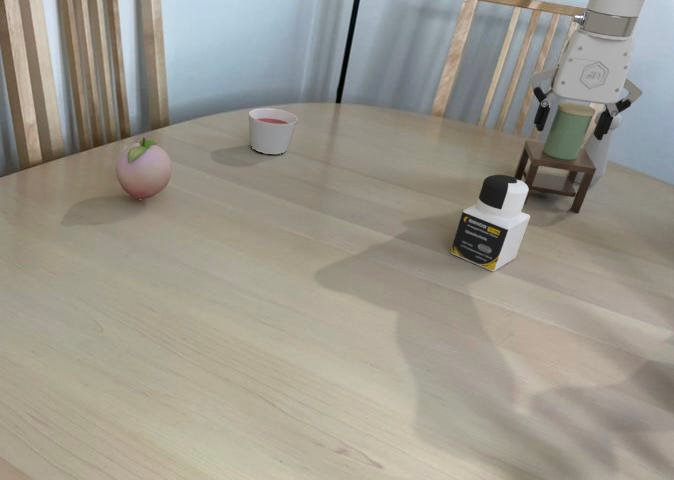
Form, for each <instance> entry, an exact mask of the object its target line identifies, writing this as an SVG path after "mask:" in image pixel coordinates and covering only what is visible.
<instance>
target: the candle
mask: <svg viewBox="0 0 674 480" xmlns="http://www.w3.org/2000/svg"><path fill="white" fill-rule="evenodd" d="M297 122H298V117H297V115H295V114H293V113H291V112H290V111H287V110H283V109H278V108H272V107H271V108H269V107H268V108H267V107H265V108H263V107H261V108H260V107H259V108H254V109H252V110H250V111H249V112H248V127H249V143H250V144H251V145H250V144H249V145H250V147H251V146H252V147H253V148H255V149H257V150H260V151H263V152H267V153H283V152H285V151H286V152H287V151H288V148H289V146H290V142H291V139H292V137H293V133H294V131H295V129H296V128H295V127H296V125H297ZM286 152H285V153H286ZM283 154H284V153H283Z"/></svg>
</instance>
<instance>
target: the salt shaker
mask: <svg viewBox="0 0 674 480" xmlns="http://www.w3.org/2000/svg"><path fill="white" fill-rule="evenodd" d="M603 111H604V110H601V111H598V112H597V114H596V116H595V119H594V124H595V127H594V128H593V130H592V132H591V133H590V135H589V136H588V138H587V140H586V141H585V143H584V145H582V147H581V149H585V151H586V152H587V154H588V156H589V157H590V159H591V161H592V162H593V164H594V166H595V167H596V171H595V173H594V176H593V178H592V181H591V183H590V186H595V184H596V183H598V182H599V181H600V180H601V179H602V178H604V176H605V175H606V171H607V165H608V160H609V157H610V151H611V148H612V142H613V138H614V134H615V130H617V129H619V128H620V126H621V124H622V120H623V117H622V115H621V114H620V113H618V115H617V116H615V117H614V118H613V120H612V123H611V125H610V128H609V130H608V133H607V134H604V135H603V138H602V140H597V139H596V137H595V136H594V131H595V128H596V126H597V123H598V121H599V118H600V115H601V113H602V112H603ZM583 175H584V173H583V172H578V173H577V175H576V178H575V181H574V183H577V184H580V183H581V180H582V178H583Z"/></svg>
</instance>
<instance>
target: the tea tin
mask: <svg viewBox="0 0 674 480" xmlns="http://www.w3.org/2000/svg"><path fill="white" fill-rule="evenodd" d="M556 108H557V109H556V111H555V114H554V117H553V121H552V123H551V125H550V127H549V131H548V134H547V137H546V139H545V142H544V143H545V145H544V148H543V152H544V153H545V154H547V155H549V156H552V157H555V158H559V159H565V160H573V159H576V158H577V156H578V154H579V151H580V148H581V149H582V147H583V143H584V141H585V138H586V135H587V134H588V133H587V132H588V130H589V127H590V125H591V123H592V119H593V117H594V116H595V113H596V110H595V108H594V107H591V106H589V105H586V104H583V103H579V102H573V101H561V102H558V104H557V106H556Z"/></svg>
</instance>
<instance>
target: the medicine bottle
mask: <svg viewBox="0 0 674 480" xmlns="http://www.w3.org/2000/svg"><path fill="white" fill-rule="evenodd" d="M528 191H529V188H528V186H527V185H526V184H525V183H524V181H523V180H522V179H521V180H520V179H517V178H515V177H514V176H512V175H507V174H493V175H489V176H487V177H486V178H484V180H483V183H482V186H481V188H480V193H479V196H478V199H477V203H475V204H473V205H471V206H469V207H467V208H465V209H463V210H462V212H461V216H460V219H459V222H458V225H457V228H456V232H455V236H454V239H453V241H452V244H451V248H450V254H451V255H453V256H455V257H457V258H460V259H462V260H465V261H466V262H468V263H471V264H474V265H475V266H477V267H480V268H483V269H485V270H488V271H490V272H491V273H492V272H493V273H494V272H495V271H497V270H499V269H500V268H502V267H503V266H505V265H507V264H509V263H510V262H512V261H513V260H515V259H516V257H517V254H518V251H519V249H520V246H521V243H522V241H523V238H524V235H525V232H526V231H527V228H528V225H529V222H530V219H531V215H530V214H528V213H525V212H523V208H524V205H525V204H524V202H525V199H526V196H527V194H528Z"/></svg>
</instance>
